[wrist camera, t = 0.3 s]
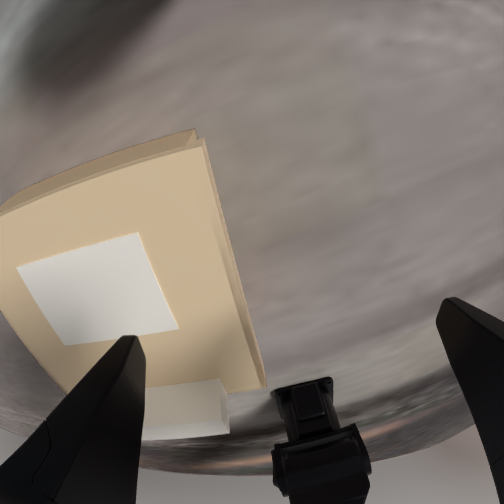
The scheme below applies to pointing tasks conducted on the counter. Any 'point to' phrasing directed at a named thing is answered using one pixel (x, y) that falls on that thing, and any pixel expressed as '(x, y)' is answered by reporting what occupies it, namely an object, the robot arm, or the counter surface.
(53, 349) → the lid
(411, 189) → the counter surface
